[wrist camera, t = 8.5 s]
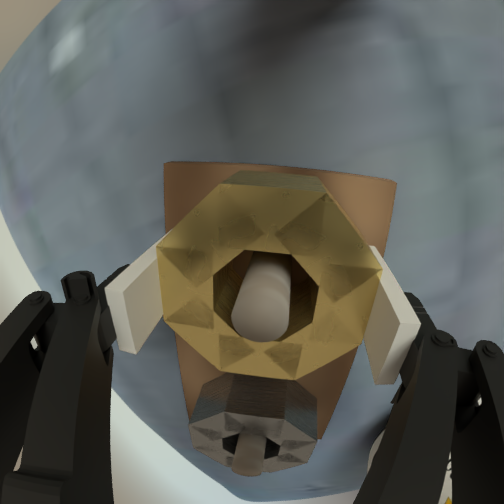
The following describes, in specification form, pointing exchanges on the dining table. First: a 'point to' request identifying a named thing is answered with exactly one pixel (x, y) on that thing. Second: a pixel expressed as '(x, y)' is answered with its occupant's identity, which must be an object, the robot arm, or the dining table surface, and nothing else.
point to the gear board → (350, 198)
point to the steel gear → (255, 419)
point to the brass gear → (277, 241)
